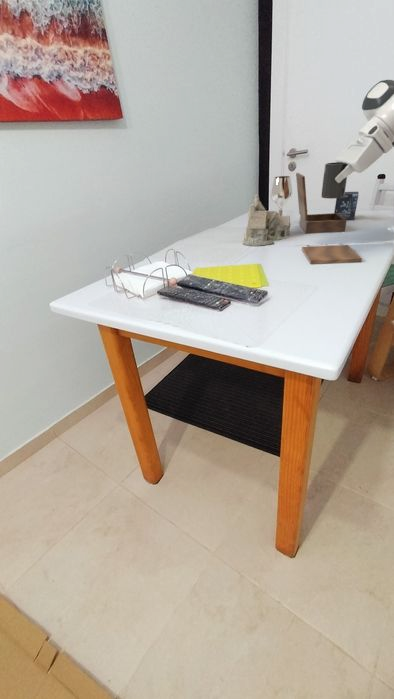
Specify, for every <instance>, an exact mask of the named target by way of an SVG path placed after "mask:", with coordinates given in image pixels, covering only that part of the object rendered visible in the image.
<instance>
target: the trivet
mask: <svg viewBox="0 0 394 699" xmlns="http://www.w3.org/2000/svg"><path fill="white" fill-rule="evenodd" d="M301 252H302V253H303V254H304V256H305V257H306V259H307V261H308V262H309V264H310V265H323V264H325V265H326V264H345V263H347V264H348V263H349V264H350V263H362V262H363V258H362V257H361V256H360V255H359V254H358V253H357V252H355V250H353V248H352V247H350V246H349V244H336V245H316V246H315V245H314V246H301Z"/></svg>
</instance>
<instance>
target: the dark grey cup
mask: <svg viewBox="0 0 394 699" xmlns="http://www.w3.org/2000/svg"><path fill="white" fill-rule="evenodd" d="M347 165H348V164H346V163H345V164H344V163H341V162H336V161H335V162H328V163H325V164H324V171H323V178H322V185H321V186H322V187H321V198H322V199H331V200H333V199H336V198H342V197H344V195H345V192H346V188H347V181H348V176H347V177H346V178H344V179H343V180H342V181H341V182H340V183H338V182H336V181H335V179H334V178H335V177H336V176H337V175H338V174H340V173H341V172H342V171H343V170H344V169H345V167H346V166H347Z"/></svg>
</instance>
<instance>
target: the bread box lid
mask: <svg viewBox="0 0 394 699" xmlns="http://www.w3.org/2000/svg"><path fill="white" fill-rule="evenodd" d="M295 177H296V190H297V191H296V192H297V199H298V201H297V203H298V214H299V216H300V215H301V216H302V217H303V219H304V220H305V221H308V215H309V214H308V205H307V204H308V202H307V201H308V200H307V190H306V177H305V176H304V175H303V174H301V173H299V172H296V173H295Z"/></svg>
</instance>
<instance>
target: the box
mask: <svg viewBox="0 0 394 699" xmlns="http://www.w3.org/2000/svg"><path fill="white" fill-rule="evenodd" d="M359 194H360V193H359V191H345V195H344V197H342V198H335V206H334V212H333V213H337V214H339V215H340V216H342V217H343V218H344V219H346V221H355V217H356V212H357V207H358V206H357V205H358V202H359V196H360V195H359Z"/></svg>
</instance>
